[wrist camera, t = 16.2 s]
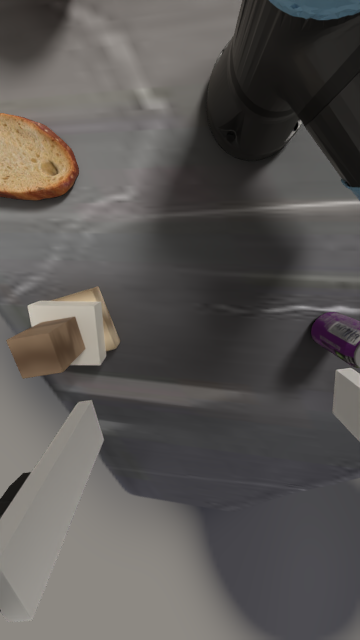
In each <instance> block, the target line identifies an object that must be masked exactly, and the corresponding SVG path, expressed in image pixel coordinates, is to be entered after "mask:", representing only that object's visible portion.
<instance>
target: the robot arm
mask: <svg viewBox="0 0 360 640" xmlns="http://www.w3.org/2000/svg"><path fill="white" fill-rule="evenodd" d="M207 117H208V122H209V126H210V129H211V131H212V134H213V136H214V138H215V139H216V141H217V142H218V144H219V145H220V146H221V147H222V148H223V149H224V150H225V151H226V152H227V153H229V154H230V155H232V156H234V157H236V158H239V159H242V160H259V159H263V158H266V157H268V156H271V155H272V154H274V153H276V152H277V151H278V150H280V149H281V148H282V147H283V146H284V145H285V144H286V143H287V142H288V141H289V140H290V139H291V138H292V137H293V136H294V135H295V133H296V132H297V131H298V129H299V127H300V126H301V124H302V123H303V124H304V126H305V128H306V129H307V131H308V132H309V133H310V135H311V136H312V138H313V139H314V140H315V142H316V143H317V145H318V146H319V147H320V149H321V150H322V152H323V153H324V154H325V156H326V157H327V158H328V160H329V161H330V163H331V164H332V165H333V167H334V168H335V170H336V171H337V172H338V174H339V175H340V177H341V178H342V179H341V181H342V183H343V185H344V186H345V187H347V188H349V189H350V190H351V191H352V192H353V193H354V194H355V196H356V197H357V198H358V199H359V200H360V0H242V4H241V8H240V12H239V16H238V20H237V24H236V29H235V33H234V36H233V37H232V39H231V40H230V41H229V42H228V43H227V45H226V46H225V47H224V49H223V50H222V52H221V53H220V55H219V57H218V59H217V61H216V63H215V65H214V68H213V71H212V74H211V77H210V82H209V87H208V93H207ZM333 414H334V415H335V416H336V417H337V418H338V419H339V420H340V421H341V422H342V423H343V425H344V426H345V427H346V428H347V429H348V430H349V431H350V432H351V433H352V434H353V435H354V436H355V437H356V438H357V439H358V440H359V441H360V374H359V373H358V372H356V371H355V370H353V369H352V368H346V369H338V370H336V375H335V388H334V401H333ZM103 441H104V438H103V435H102V432H101V428H100V425H99V422H98V419H97V415H96V412H95V409H94V406H93V403H92V400H89V401H81V402H78V403H77V404H76V406H75V407H74V409H73V410H72V412H71V413H70V415H69V416H68V418H67V419H66V421H65V423H64V424H63V425H62V427H61V428H60V430H59V431H58V433H57V434H56V436H55V438H54V439H53V441H52V442H51V443H50V445H49V446H48V448H47V450H46V451H45V452H44V454H43V456H42V457H41V459H40V460H39V461H38V463H37V465H36V466H35V467H34V469H33V470H32V472H29V473H23V474H22V475H21V476H20V477H19V478H18V479H17V480H16V481H15V482H14V483H12V484H11V485H10V486H9V488H8V489H7V491H6V492H5V493H4V495H3V496H2V498H1V499H0V612H1V613H2V615H3V616H4V617H5V619H6V620H7V622H18V621H30V620H32V619H33V617H34V615H35V612H36V610H37V607H38V605H39V602H40V600H41V597H42V595H43V592H44V589H45V587H46V584H47V582H48V580H49V577H50V575H51V572H52V569H53V567H54V564H55V562H56V559H57V557H58V554H59V551H60V549H61V547H62V544H63V542H64V539H65V537H66V534H67V532H68V529H69V527H70V524H71V522H72V519H73V517H74V514H75V511H76V509H77V506H78V503H79V501H80V499H81V496H82V494H83V491H84V489H85V486H86V484H87V481H88V479H89V476H90V474H91V471H92V469H93V466H94V464H95V460H96V459H97V456H98V454H99V451H100V449H101V446H102V443H103Z"/></svg>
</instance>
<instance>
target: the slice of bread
mask: <svg viewBox="0 0 360 640" xmlns="http://www.w3.org/2000/svg"><path fill="white" fill-rule="evenodd" d="M78 174H79V168H78V165H77V162H76V159H75V156H74V154H73V151H72V150H71V148H70V147H69V146H68V145H67V144H66V143H65V142H64V141H63V140H62V139H61V138H60V137H58V136H57V135H56V134H55V133H54V132H53V131H52V130H50V129H49V128H48V127H47V126H45V125H43V124H41V123H38V122H34V121H32V120H29V119H26V118H24V117H19V116H14V115H8V114H4V113H0V197H6V198H13V199H22V200H42V199H44V198H53V197H58V196H61V195H63V194H65V193H66V192H67V191H68V190H69V189H70V188H71V187H72V186H73V184H74V182H75V179H76V178H77V176H78Z"/></svg>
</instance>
